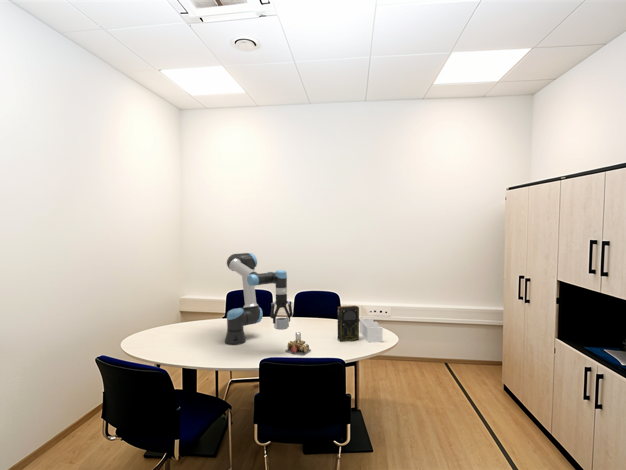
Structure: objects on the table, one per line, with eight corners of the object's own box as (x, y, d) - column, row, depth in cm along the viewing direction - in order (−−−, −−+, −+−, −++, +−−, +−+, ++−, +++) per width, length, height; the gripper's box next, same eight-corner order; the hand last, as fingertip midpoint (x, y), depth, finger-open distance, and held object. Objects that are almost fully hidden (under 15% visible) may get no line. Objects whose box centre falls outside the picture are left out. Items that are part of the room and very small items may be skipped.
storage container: (359, 332, 277) (359, 318, 277) (373, 331, 279) (373, 318, 278) (367, 342, 253) (367, 327, 252) (382, 342, 254) (382, 327, 253)
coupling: (274, 327, 234) (273, 318, 234) (285, 325, 237) (284, 317, 237) (278, 330, 227) (278, 321, 227) (289, 328, 230) (289, 319, 230)
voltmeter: (340, 342, 252) (340, 308, 252) (336, 338, 261) (336, 305, 260) (360, 340, 256) (360, 307, 256) (355, 337, 265) (355, 304, 264)
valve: (284, 352, 233) (284, 333, 233) (293, 347, 242) (293, 329, 242) (302, 356, 226) (302, 337, 226) (310, 350, 235) (310, 332, 235)
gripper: (268, 295, 224) (268, 331, 224) (297, 293, 233) (298, 326, 233) (264, 294, 231) (265, 328, 231) (293, 291, 240) (293, 324, 240)
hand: (281, 327), depth 232 cm, fingers closed on coupling, 8 cm apart
